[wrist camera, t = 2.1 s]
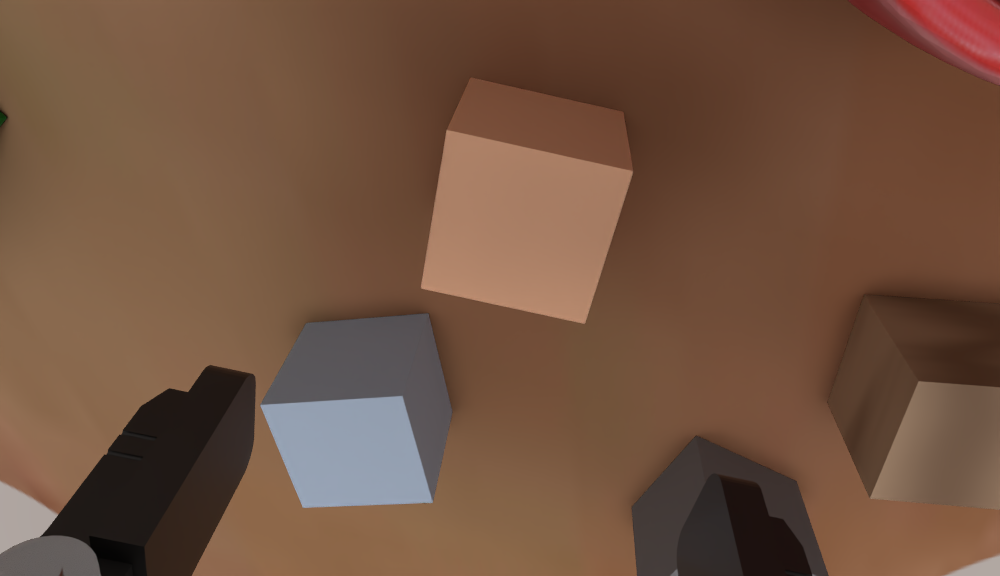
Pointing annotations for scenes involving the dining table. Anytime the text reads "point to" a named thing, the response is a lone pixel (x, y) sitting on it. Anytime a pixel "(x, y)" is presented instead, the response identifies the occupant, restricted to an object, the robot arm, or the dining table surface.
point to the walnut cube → (923, 400)
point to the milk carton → (2, 118)
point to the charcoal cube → (678, 491)
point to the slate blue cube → (361, 412)
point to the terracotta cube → (527, 200)
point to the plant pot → (946, 30)
